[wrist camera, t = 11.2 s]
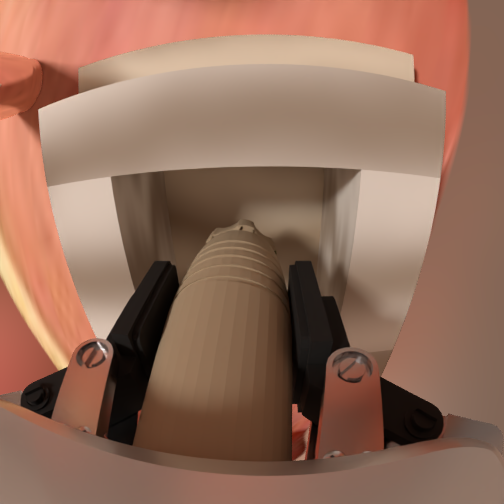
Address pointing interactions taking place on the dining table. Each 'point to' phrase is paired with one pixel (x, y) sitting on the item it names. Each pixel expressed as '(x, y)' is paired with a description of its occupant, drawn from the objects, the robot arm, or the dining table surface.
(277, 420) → the handle
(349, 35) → the dining table surface
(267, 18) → the dining table surface
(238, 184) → the socket holder
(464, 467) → the robot arm
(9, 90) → the cup with straw
